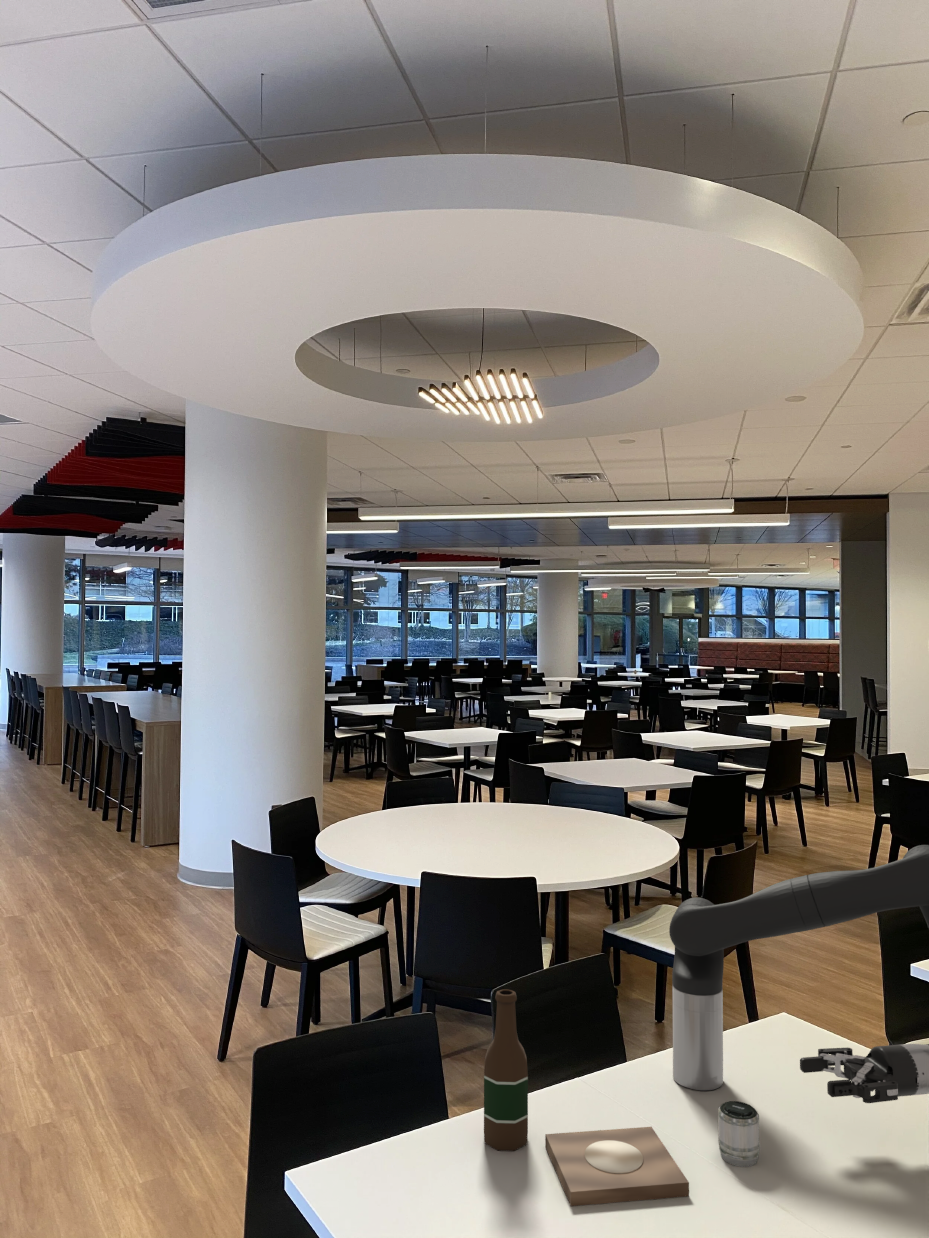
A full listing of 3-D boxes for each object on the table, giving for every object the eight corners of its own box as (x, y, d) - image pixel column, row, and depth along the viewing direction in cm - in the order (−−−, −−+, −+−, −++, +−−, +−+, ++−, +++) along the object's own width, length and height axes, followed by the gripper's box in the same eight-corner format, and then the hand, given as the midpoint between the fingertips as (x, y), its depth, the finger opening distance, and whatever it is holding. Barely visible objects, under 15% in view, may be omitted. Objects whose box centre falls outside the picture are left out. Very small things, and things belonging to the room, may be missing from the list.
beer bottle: (536, 1133, 150) (536, 987, 151) (519, 1156, 143) (519, 1003, 144) (493, 1123, 154) (493, 980, 155) (474, 1145, 147) (475, 996, 148)
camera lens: (723, 1142, 148) (722, 1093, 148) (762, 1152, 145) (762, 1103, 145) (714, 1161, 142) (714, 1110, 143) (755, 1172, 139) (754, 1120, 140)
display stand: (545, 1146, 146) (545, 1132, 146) (651, 1138, 149) (651, 1125, 149) (570, 1205, 131) (570, 1190, 131) (689, 1196, 133) (688, 1180, 133)
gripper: (879, 1029, 155) (791, 1035, 153) (933, 1065, 141) (837, 1072, 139) (880, 1073, 155) (792, 1080, 153) (935, 1114, 141) (839, 1122, 139)
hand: (814, 1076), depth 146 cm, fingers open, 8 cm apart
